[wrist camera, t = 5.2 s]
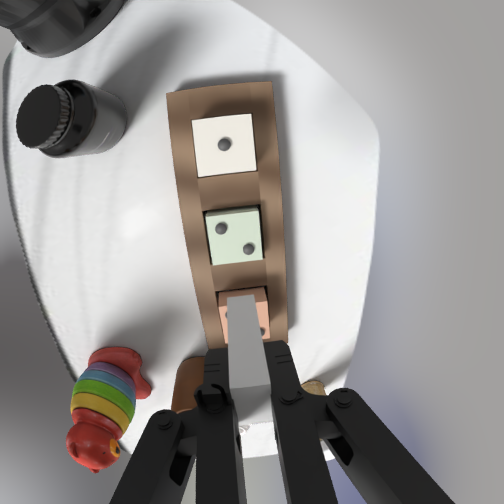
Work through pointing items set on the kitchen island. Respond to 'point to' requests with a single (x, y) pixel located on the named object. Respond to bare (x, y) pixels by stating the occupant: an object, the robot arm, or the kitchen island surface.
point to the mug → (187, 384)
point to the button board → (231, 201)
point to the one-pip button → (224, 145)
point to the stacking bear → (104, 406)
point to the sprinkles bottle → (318, 389)
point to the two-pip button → (234, 234)
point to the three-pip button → (260, 306)
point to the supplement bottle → (70, 119)
